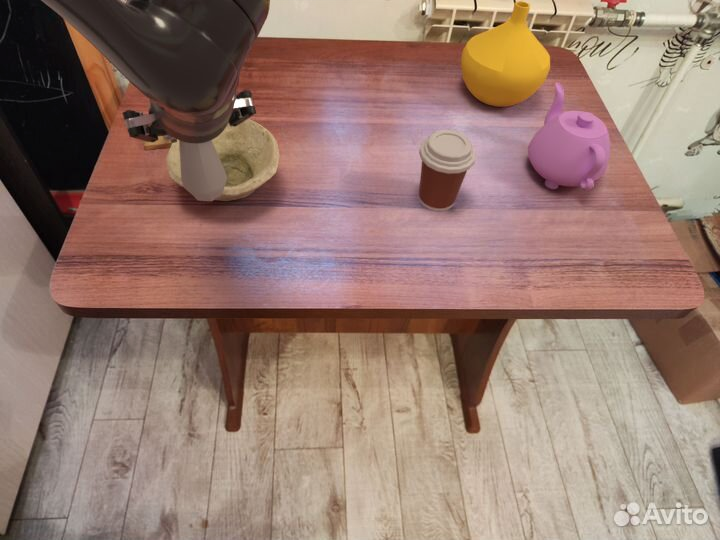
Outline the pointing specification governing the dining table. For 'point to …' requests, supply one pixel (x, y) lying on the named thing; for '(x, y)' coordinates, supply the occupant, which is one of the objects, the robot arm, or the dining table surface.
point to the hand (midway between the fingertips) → (191, 130)
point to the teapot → (570, 146)
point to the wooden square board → (157, 143)
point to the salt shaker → (202, 170)
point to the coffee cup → (444, 168)
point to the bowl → (238, 159)
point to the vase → (505, 62)
